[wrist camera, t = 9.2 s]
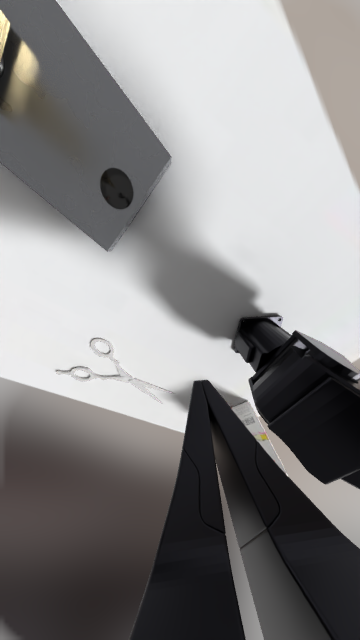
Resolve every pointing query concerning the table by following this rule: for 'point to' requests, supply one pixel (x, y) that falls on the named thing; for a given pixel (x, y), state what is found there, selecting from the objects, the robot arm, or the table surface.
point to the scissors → (122, 377)
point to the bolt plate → (72, 124)
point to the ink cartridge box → (257, 430)
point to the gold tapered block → (3, 31)
